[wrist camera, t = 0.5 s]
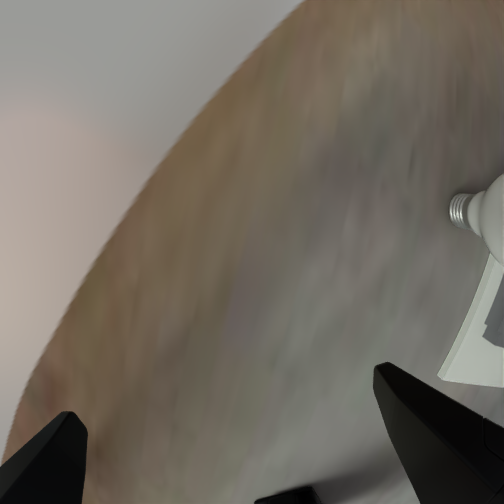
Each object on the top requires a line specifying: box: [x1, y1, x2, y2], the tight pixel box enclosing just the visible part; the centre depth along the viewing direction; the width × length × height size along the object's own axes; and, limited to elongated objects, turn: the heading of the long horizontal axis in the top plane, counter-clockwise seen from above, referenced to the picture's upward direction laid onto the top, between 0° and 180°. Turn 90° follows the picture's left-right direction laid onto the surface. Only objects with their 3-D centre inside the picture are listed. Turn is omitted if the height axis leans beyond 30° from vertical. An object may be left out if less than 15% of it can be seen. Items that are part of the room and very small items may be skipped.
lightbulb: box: [449, 173, 504, 267], centre depth 16 cm, size 6×6×11 cm
